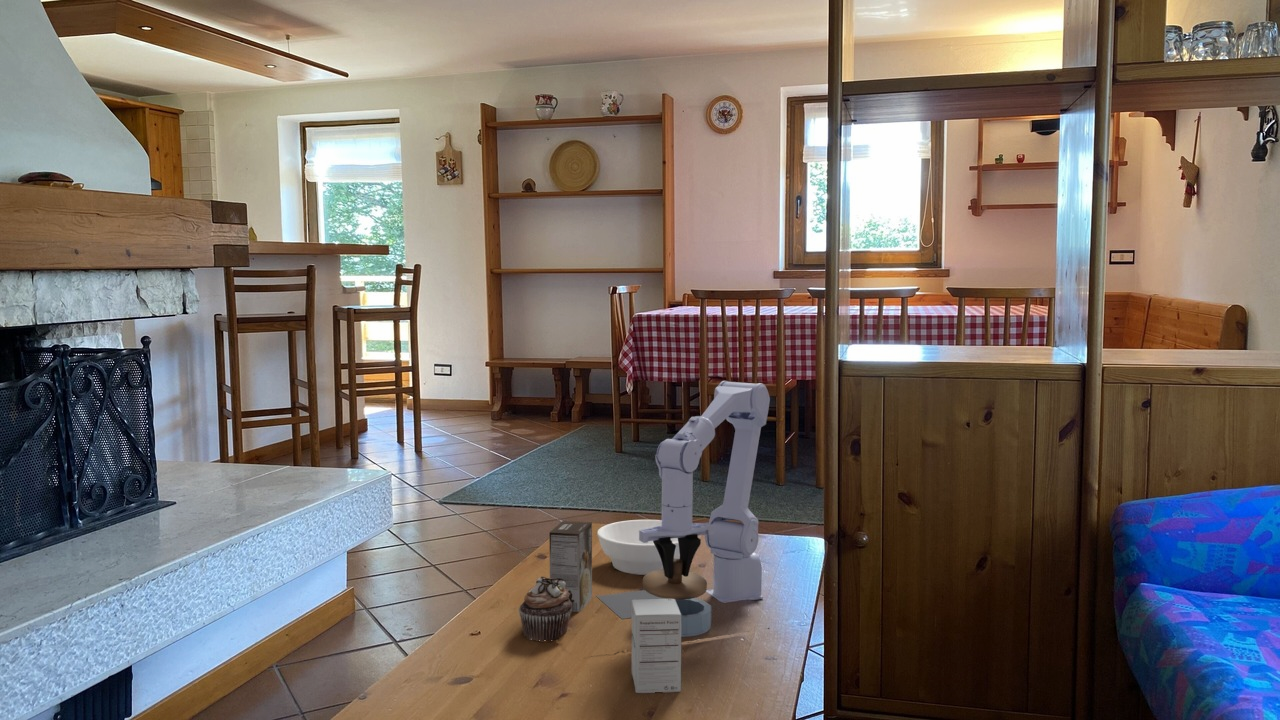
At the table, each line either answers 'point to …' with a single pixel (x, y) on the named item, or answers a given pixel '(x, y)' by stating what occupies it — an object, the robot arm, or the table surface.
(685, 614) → the small bowl
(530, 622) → the cupcake
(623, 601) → the mat
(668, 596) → the lid
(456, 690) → the table surface
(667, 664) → the supplement box
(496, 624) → the table surface
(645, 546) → the bowl
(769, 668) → the table surface
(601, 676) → the table surface
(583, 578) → the coffee box
